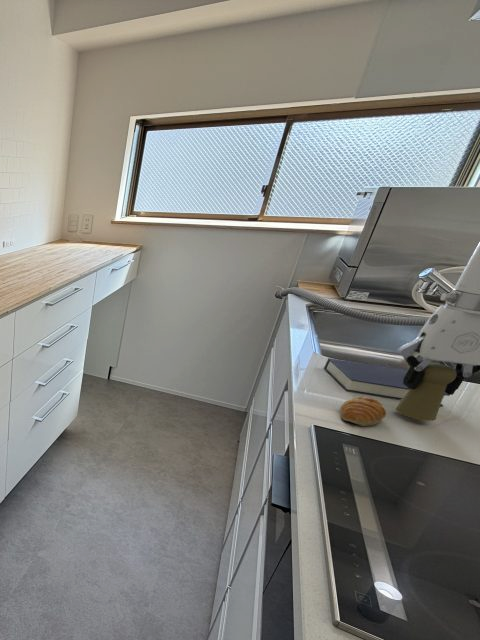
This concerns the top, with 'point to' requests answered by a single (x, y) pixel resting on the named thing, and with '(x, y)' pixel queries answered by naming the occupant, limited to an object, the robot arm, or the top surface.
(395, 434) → the top surface
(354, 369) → the book
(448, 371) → the cork
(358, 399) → the pastry
